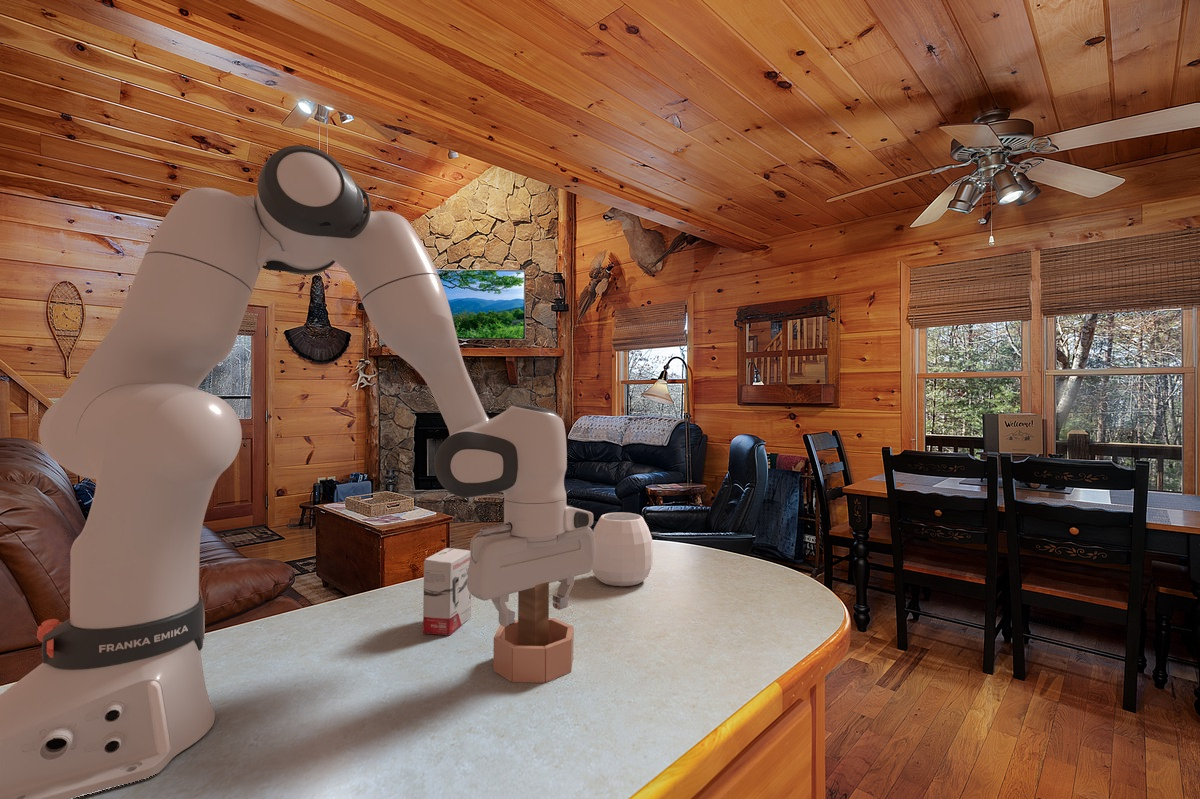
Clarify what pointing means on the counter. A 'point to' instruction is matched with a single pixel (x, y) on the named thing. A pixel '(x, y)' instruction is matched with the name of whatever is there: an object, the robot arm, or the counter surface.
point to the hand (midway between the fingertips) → (534, 615)
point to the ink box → (446, 591)
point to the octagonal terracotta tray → (534, 654)
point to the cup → (622, 549)
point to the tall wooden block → (533, 616)
